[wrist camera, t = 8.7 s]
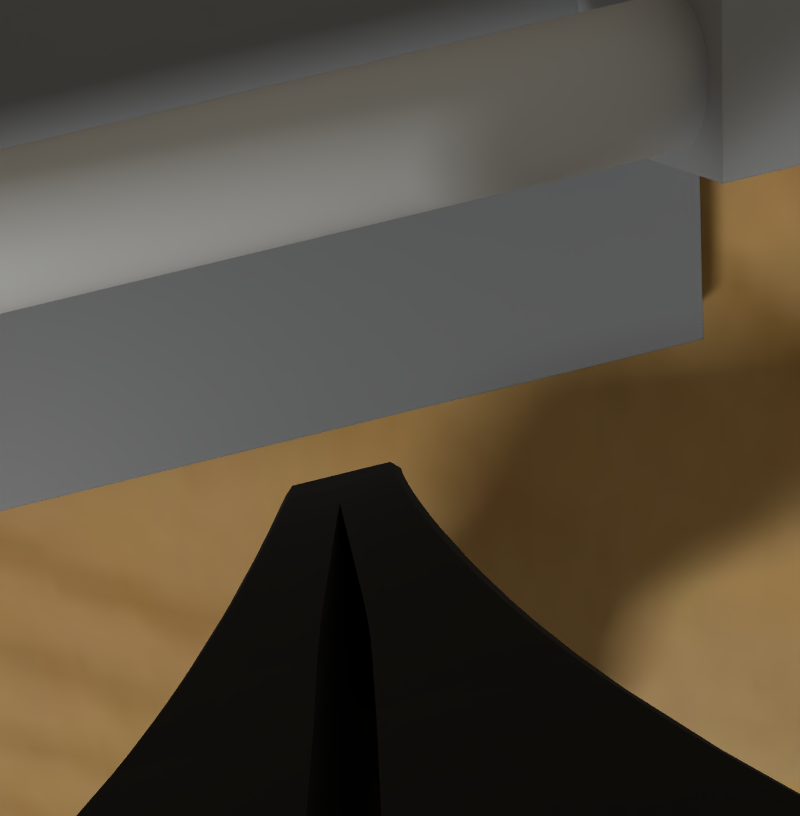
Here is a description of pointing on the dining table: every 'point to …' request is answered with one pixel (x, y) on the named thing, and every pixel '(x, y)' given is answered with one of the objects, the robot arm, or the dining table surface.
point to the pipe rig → (350, 208)
